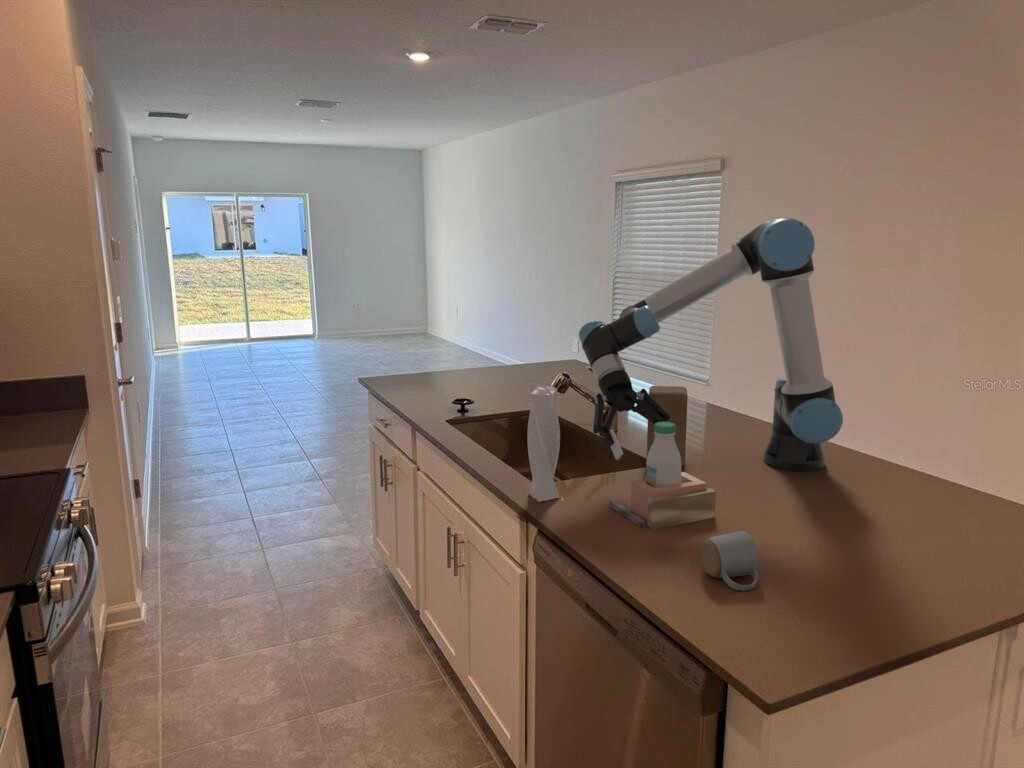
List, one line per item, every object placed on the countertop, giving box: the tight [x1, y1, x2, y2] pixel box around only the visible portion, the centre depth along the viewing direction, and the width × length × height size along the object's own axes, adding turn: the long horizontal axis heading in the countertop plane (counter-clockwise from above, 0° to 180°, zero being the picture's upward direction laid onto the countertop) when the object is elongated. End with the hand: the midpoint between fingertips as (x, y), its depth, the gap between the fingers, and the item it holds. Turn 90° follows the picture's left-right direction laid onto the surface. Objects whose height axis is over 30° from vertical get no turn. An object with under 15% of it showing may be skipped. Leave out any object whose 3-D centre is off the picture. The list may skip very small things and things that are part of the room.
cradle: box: [630, 471, 707, 522], centre depth 153 cm, size 8×14×7 cm, turn 113°
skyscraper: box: [526, 382, 561, 500], centre depth 161 cm, size 8×8×28 cm
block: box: [646, 385, 689, 467], centre depth 187 cm, size 10×10×20 cm
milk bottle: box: [644, 422, 682, 488], centre depth 153 cm, size 8×8×20 cm
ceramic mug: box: [699, 530, 760, 592], centre depth 123 cm, size 11×8×8 cm
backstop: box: [608, 487, 717, 530], centre depth 154 cm, size 15×19×6 cm
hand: (645, 453), depth 160 cm, fingers open, 13 cm apart
